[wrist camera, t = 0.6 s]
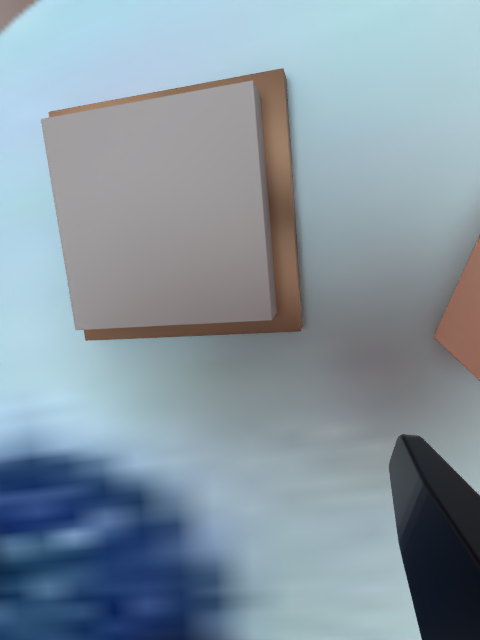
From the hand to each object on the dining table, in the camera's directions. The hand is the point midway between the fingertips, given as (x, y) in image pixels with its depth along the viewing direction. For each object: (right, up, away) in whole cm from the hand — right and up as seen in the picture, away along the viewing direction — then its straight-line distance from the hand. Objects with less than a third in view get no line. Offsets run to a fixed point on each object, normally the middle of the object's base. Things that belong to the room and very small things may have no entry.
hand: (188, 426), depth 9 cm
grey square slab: (-2, +7, +12) cm, 14 cm away
